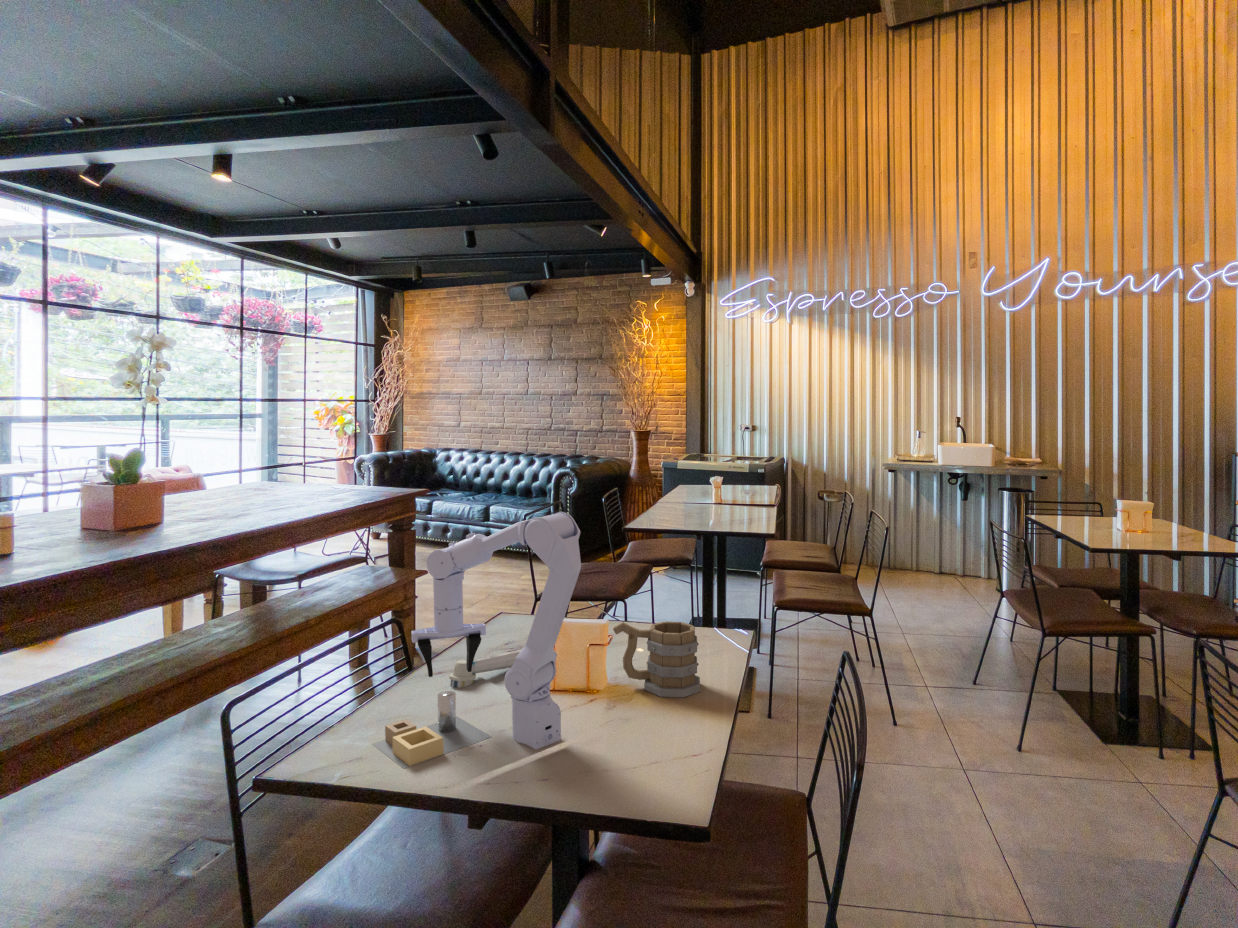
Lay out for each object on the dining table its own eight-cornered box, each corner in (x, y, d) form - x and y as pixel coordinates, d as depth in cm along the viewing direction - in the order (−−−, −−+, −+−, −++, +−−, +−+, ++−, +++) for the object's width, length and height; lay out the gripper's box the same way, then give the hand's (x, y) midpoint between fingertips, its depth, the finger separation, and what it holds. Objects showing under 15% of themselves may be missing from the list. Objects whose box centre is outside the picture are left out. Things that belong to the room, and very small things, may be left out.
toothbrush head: (540, 649, 177) (460, 661, 158) (537, 675, 177) (457, 691, 158) (526, 645, 180) (446, 656, 161) (523, 671, 180) (443, 685, 161)
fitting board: (492, 740, 134) (491, 721, 134) (403, 772, 122) (403, 751, 121) (457, 719, 143) (456, 701, 143) (371, 747, 131) (371, 728, 131)
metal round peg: (459, 729, 137) (458, 694, 137) (443, 734, 135) (443, 698, 134) (450, 723, 140) (449, 689, 139) (435, 728, 137) (434, 693, 137)
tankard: (699, 678, 167) (699, 616, 166) (700, 698, 154) (700, 631, 153) (616, 675, 169) (616, 614, 168) (610, 695, 156) (610, 629, 155)
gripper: (481, 598, 147) (482, 662, 148) (409, 605, 142) (411, 670, 143) (487, 606, 141) (488, 672, 141) (412, 614, 136) (413, 682, 136)
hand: (449, 672), depth 142 cm, fingers open, 7 cm apart
